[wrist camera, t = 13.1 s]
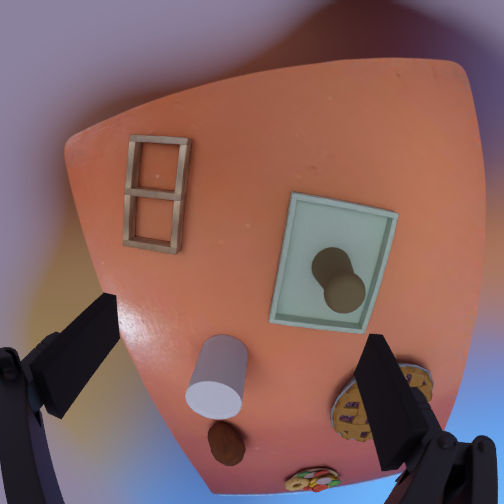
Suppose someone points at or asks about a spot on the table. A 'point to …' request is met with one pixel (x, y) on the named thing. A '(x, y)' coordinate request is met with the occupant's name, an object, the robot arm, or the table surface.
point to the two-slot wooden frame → (155, 194)
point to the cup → (218, 378)
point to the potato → (225, 444)
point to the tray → (324, 236)
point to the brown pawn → (338, 280)
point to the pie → (352, 410)
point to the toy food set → (313, 480)
